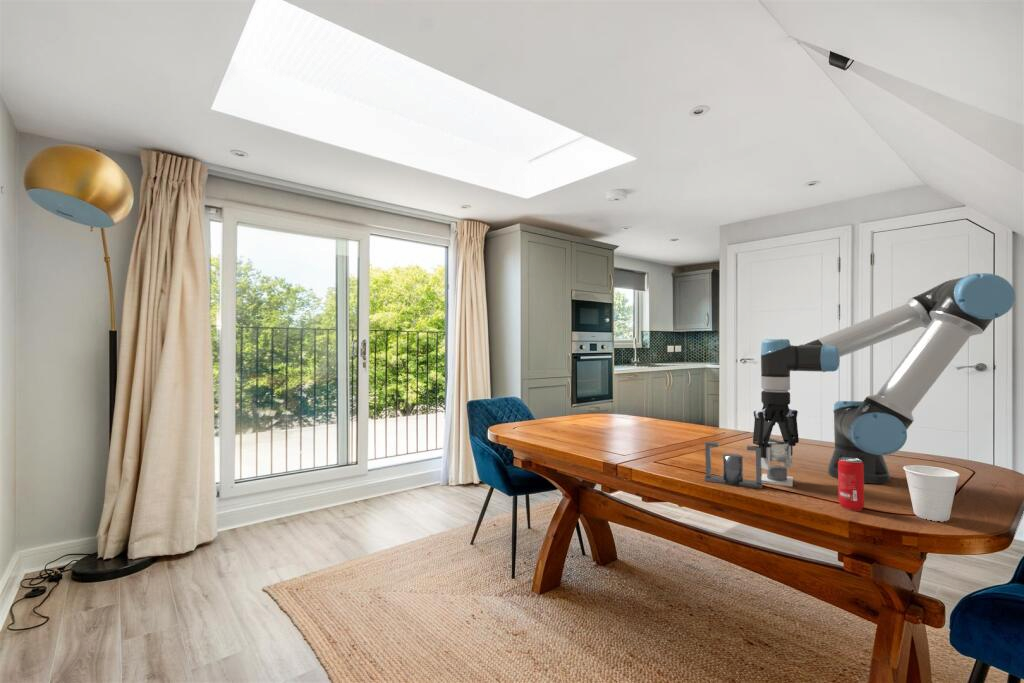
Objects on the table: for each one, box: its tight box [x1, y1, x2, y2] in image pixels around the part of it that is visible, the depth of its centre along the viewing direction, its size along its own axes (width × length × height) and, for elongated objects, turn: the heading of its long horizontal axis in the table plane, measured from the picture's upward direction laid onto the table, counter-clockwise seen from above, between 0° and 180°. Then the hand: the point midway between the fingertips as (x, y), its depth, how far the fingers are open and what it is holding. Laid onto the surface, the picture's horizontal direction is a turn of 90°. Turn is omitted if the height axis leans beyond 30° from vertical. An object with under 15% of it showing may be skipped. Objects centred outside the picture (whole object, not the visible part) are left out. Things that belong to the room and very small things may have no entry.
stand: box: [762, 464, 794, 488], centre depth 139 cm, size 8×8×4 cm
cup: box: [902, 464, 961, 523], centre depth 110 cm, size 10×10×11 cm
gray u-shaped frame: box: [704, 441, 764, 489], centre depth 138 cm, size 15×5×11 cm, turn 58°
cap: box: [763, 438, 793, 465], centre depth 139 cm, size 11×7×6 cm, turn 13°
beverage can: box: [837, 457, 865, 512], centre depth 117 cm, size 5×5×12 cm
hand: (776, 467), depth 139 cm, fingers closed on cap, 7 cm apart
